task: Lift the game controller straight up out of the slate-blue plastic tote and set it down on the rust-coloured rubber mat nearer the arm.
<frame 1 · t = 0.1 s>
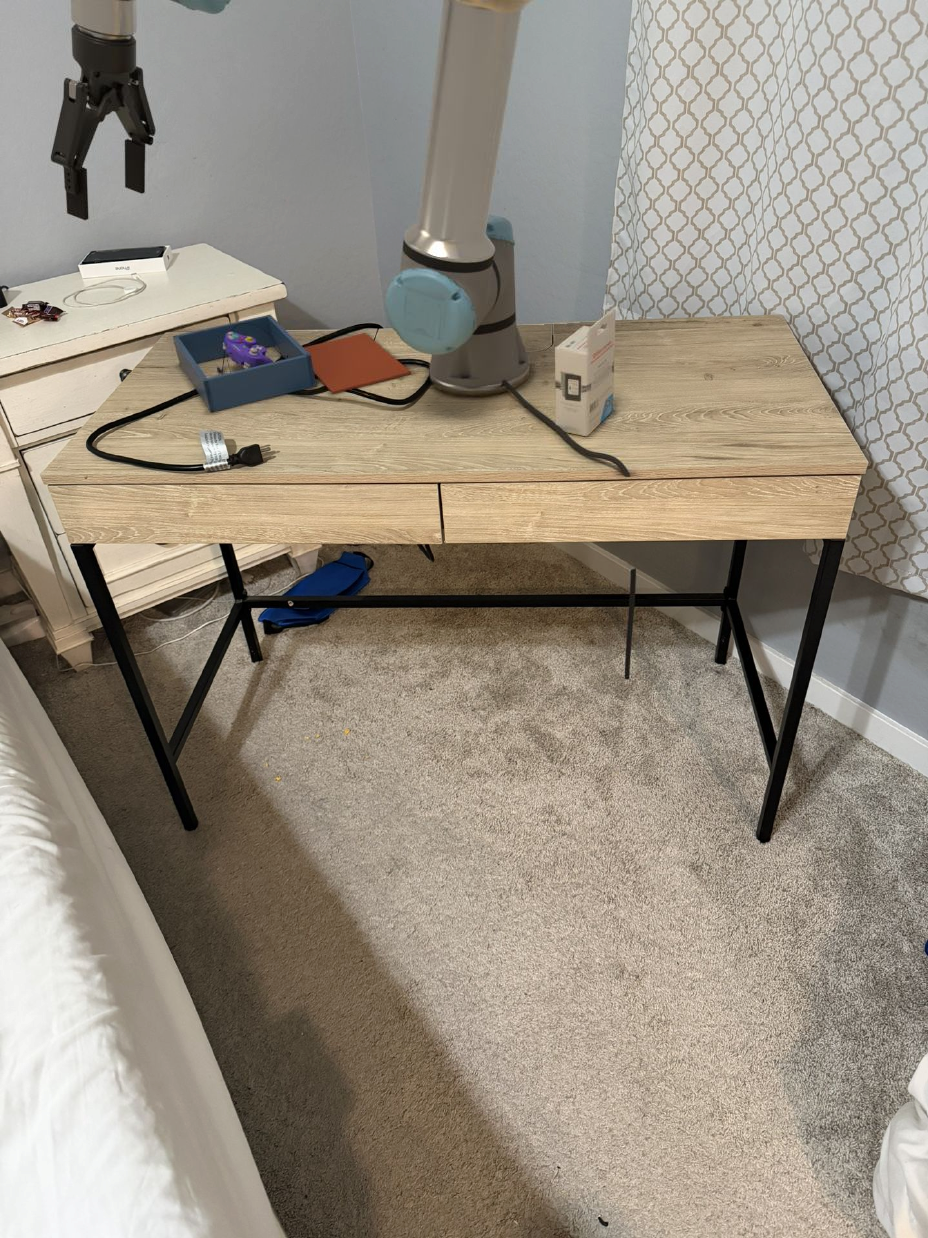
hand: (107, 202, 128), 28 cm above the table, tool tilted 20°, fingers open, 13 cm apart
game controller: (246, 376, 147), resting in tote
ink box: (584, 422, 126), on the table
tote: (245, 375, 147), on the table
mat: (349, 362, 148), on the table
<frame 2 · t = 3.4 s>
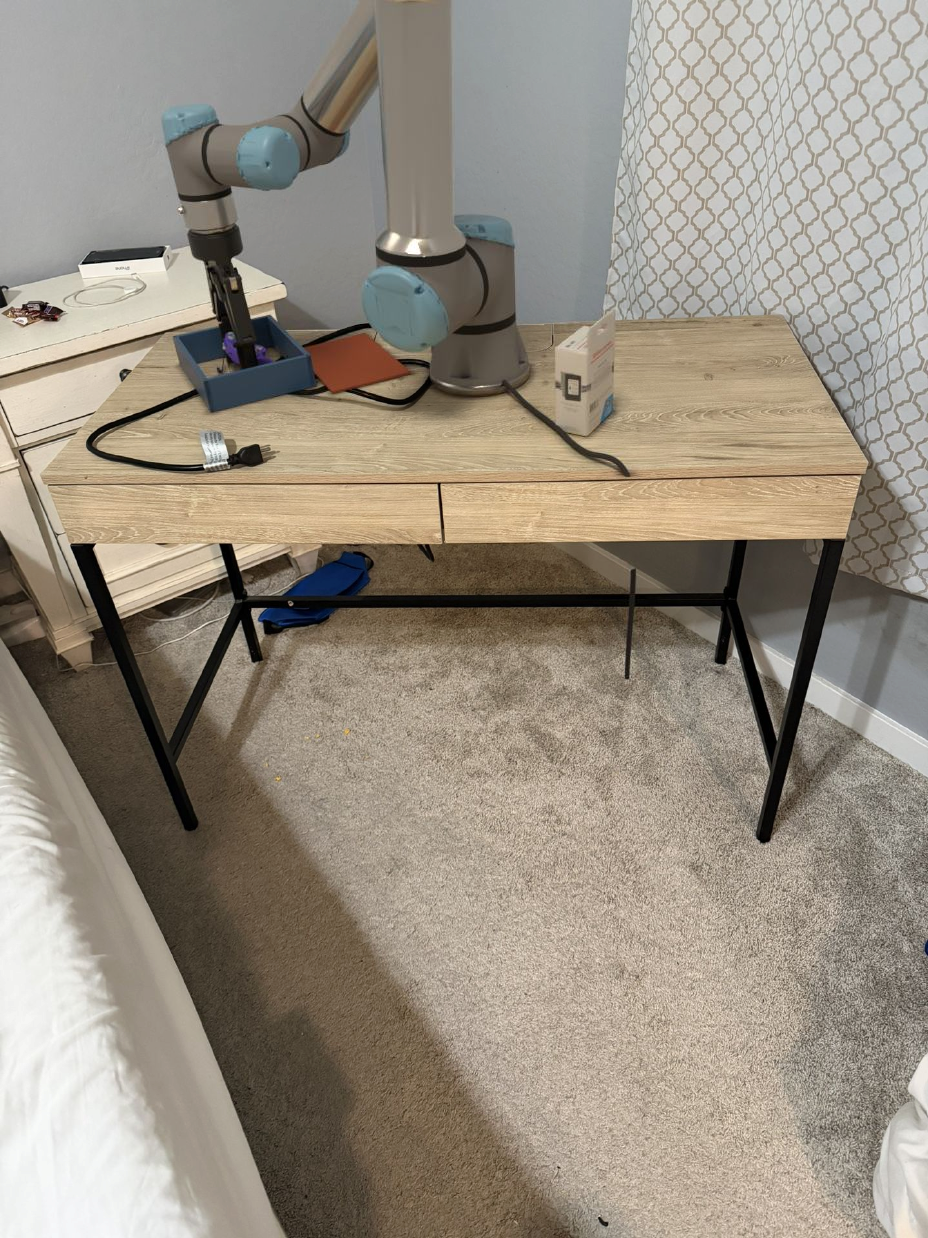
hand: (244, 372, 147), 0 cm above the table, tool pointing down, fingers closed on game controller, 10 cm apart
game controller: (245, 376, 147), resting in tote, touching gripper
everything else where it was.
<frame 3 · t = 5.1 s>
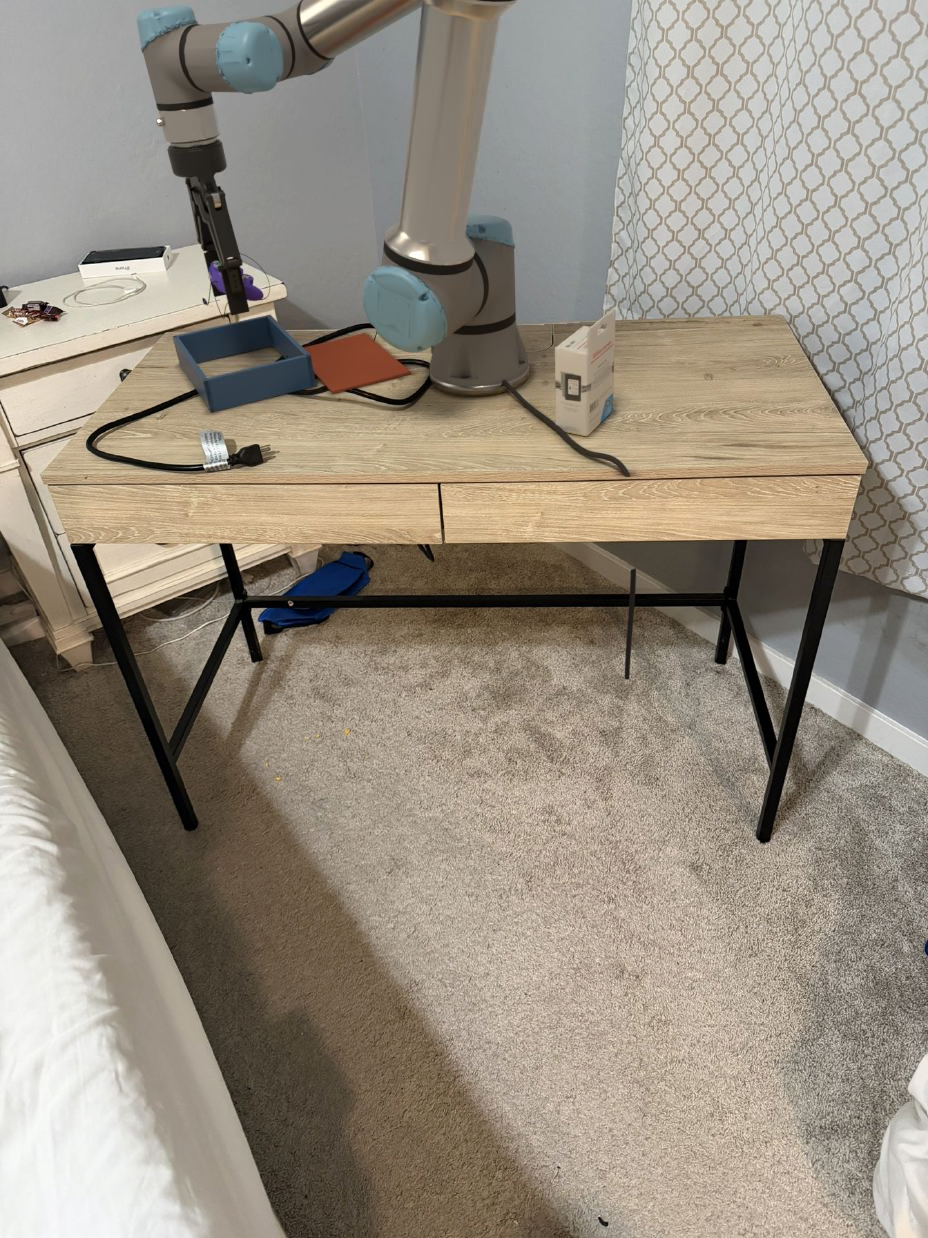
hand: (231, 303, 140), 12 cm above the table, tool pointing down, fingers closed on game controller, 10 cm apart
game controller: (233, 308, 140), point 11 cm above the table, touching gripper
everything else where it was.
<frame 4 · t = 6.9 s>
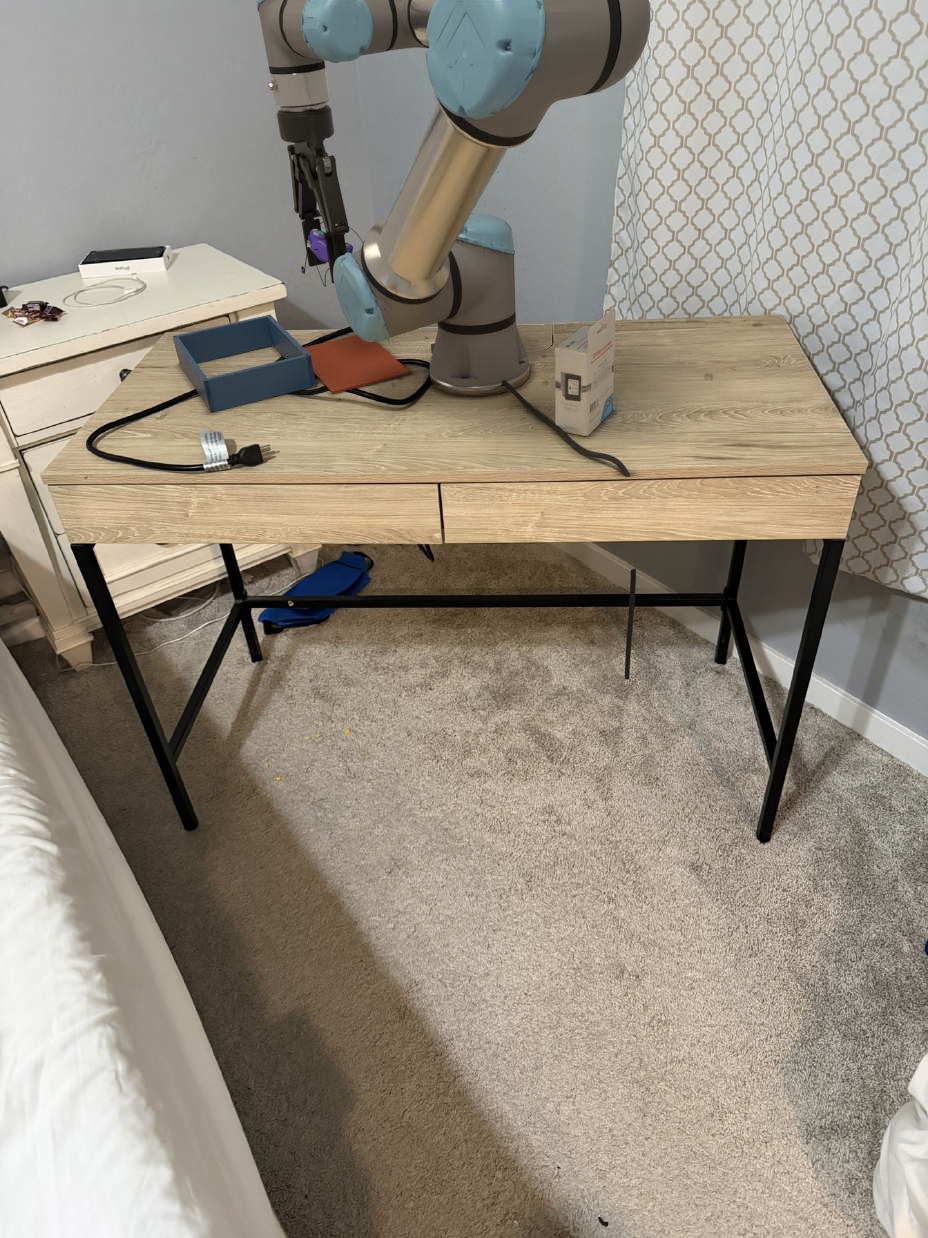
hand: (329, 272, 139), 15 cm above the table, tool pointing down, fingers closed on game controller, 10 cm apart
game controller: (331, 277, 139), point 14 cm above the table, touching gripper
everything else where it was.
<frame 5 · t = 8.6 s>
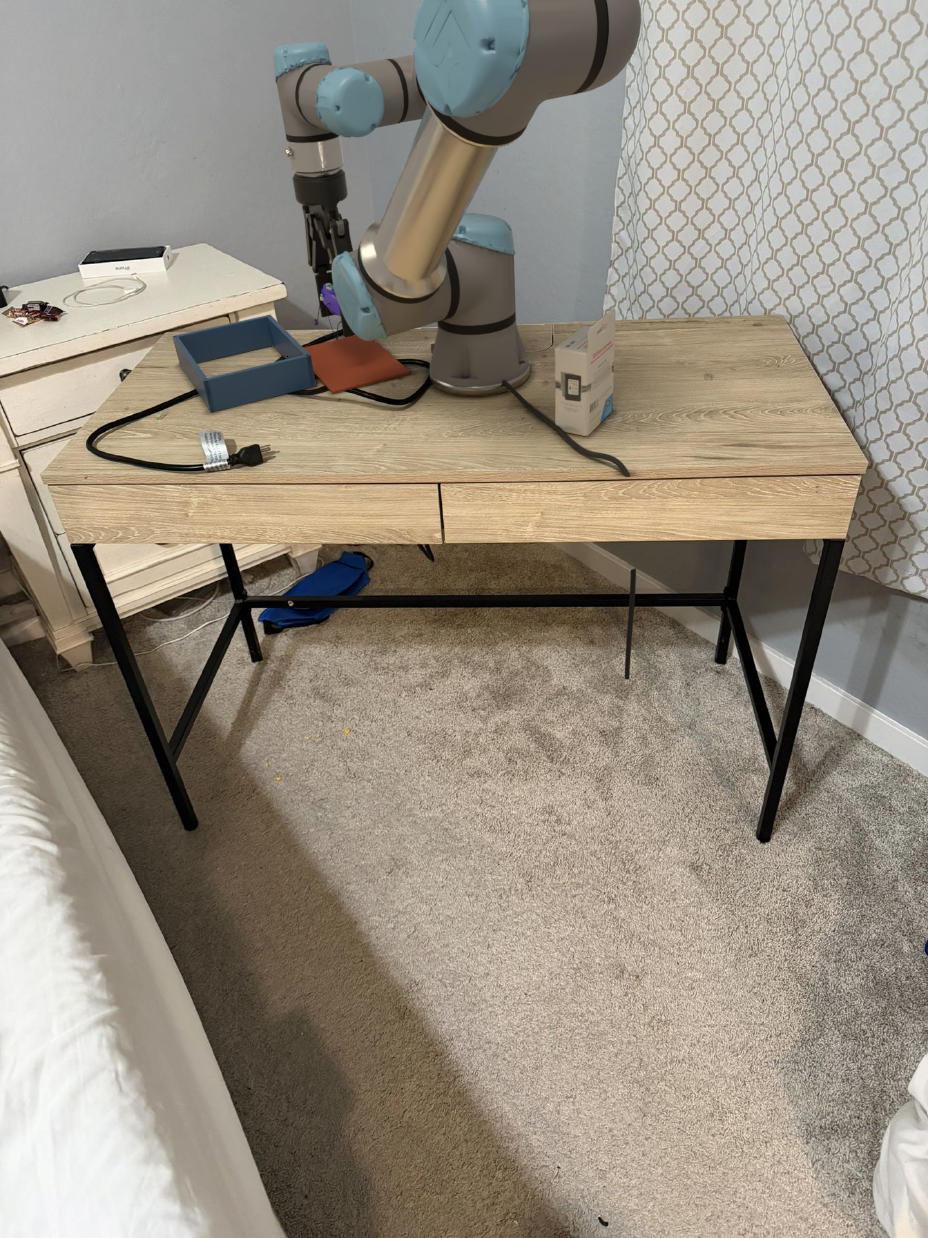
hand: (340, 324, 144), 6 cm above the table, tool pointing down, fingers closed on game controller, 10 cm apart
game controller: (342, 329, 144), point 6 cm above the table, touching gripper
everything else where it was.
when the fingers open (1 cm above the table, at t = 10.5 s): game controller stays where it is, resting on mat.
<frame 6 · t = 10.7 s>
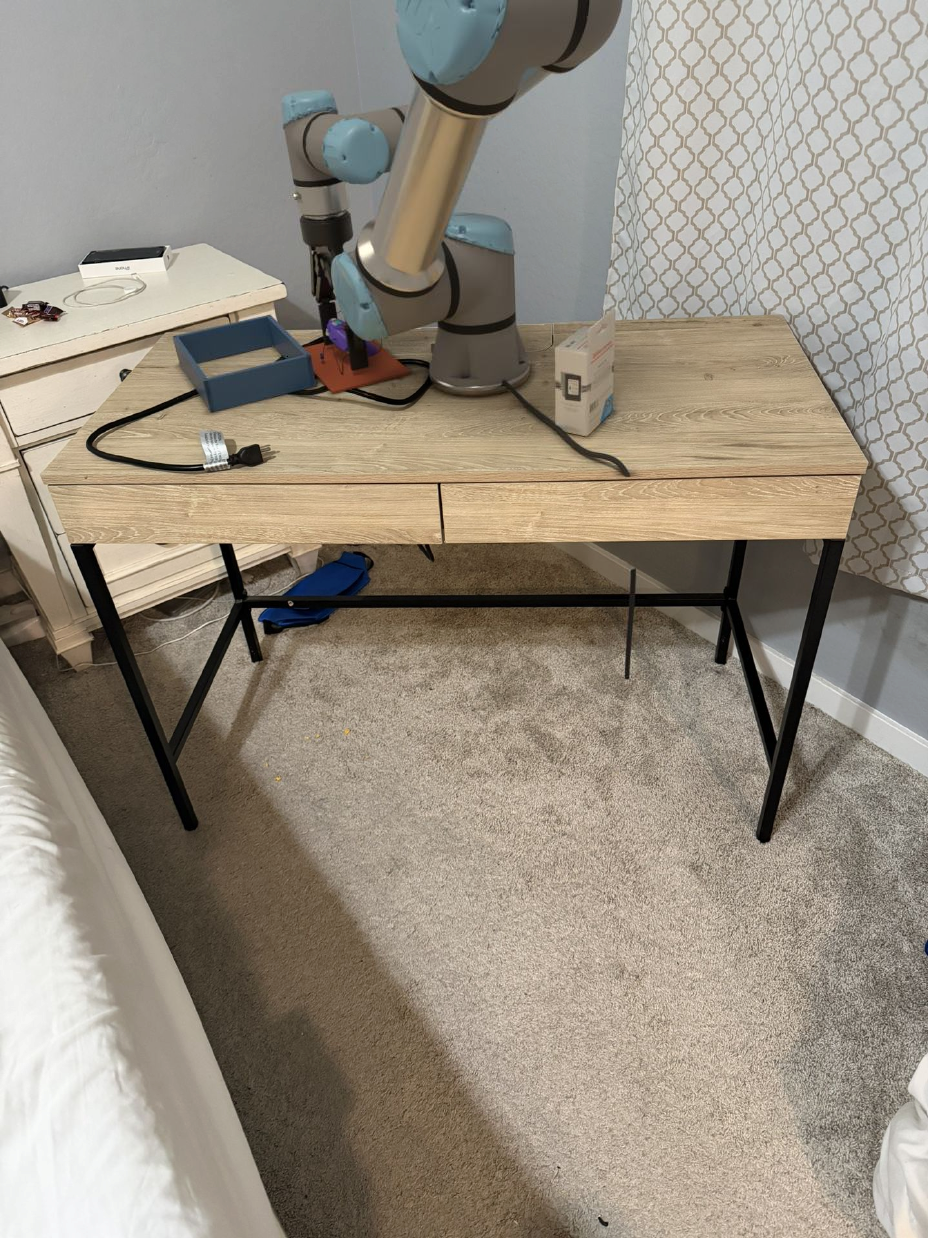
hand: (346, 355, 147), 1 cm above the table, tool pointing down, fingers open, 12 cm apart
game controller: (347, 362, 148), resting on mat
everything else where it was.
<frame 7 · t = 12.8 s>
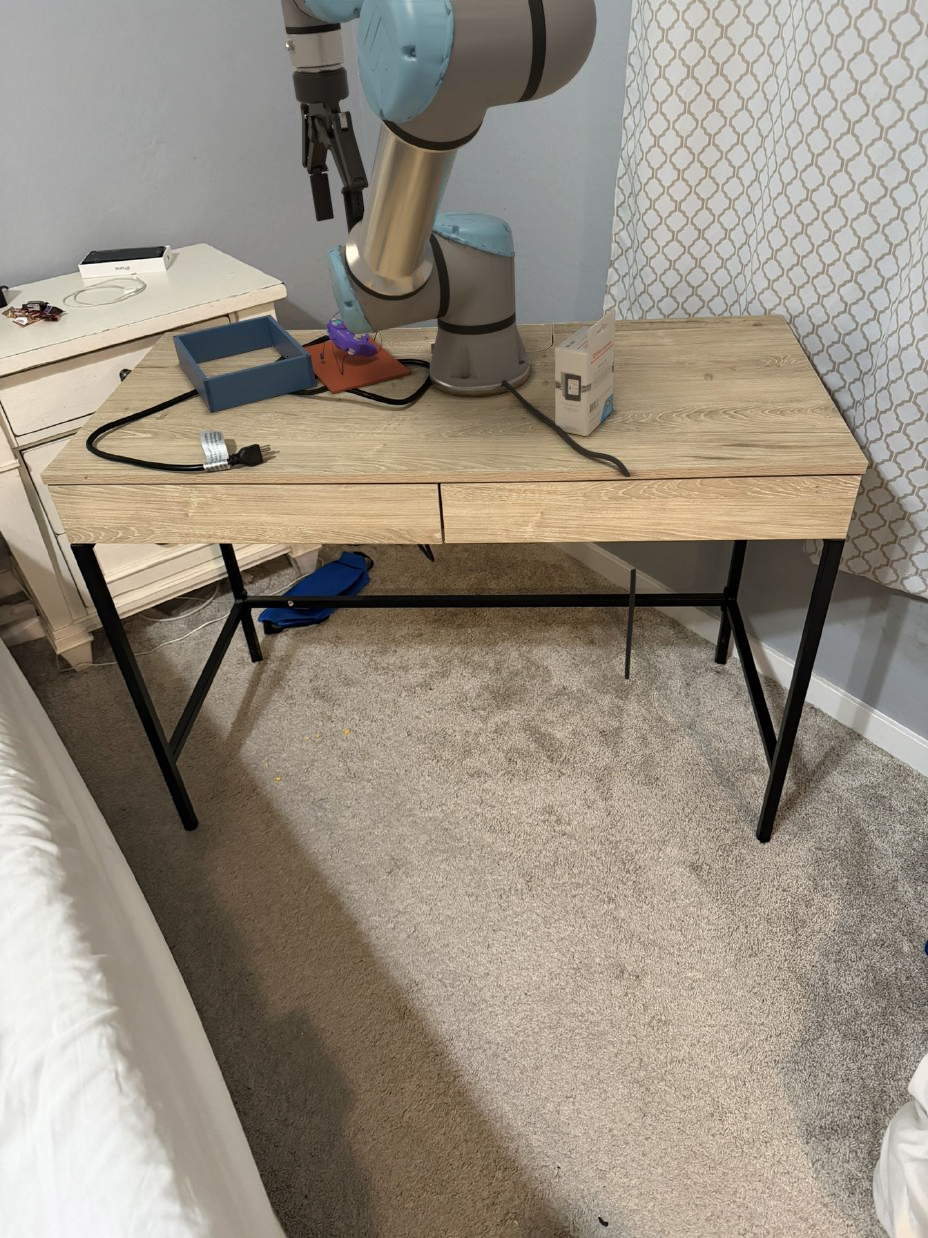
hand: (341, 228, 140), 19 cm above the table, tool pointing down, fingers open, 13 cm apart
nothing on the table moved.
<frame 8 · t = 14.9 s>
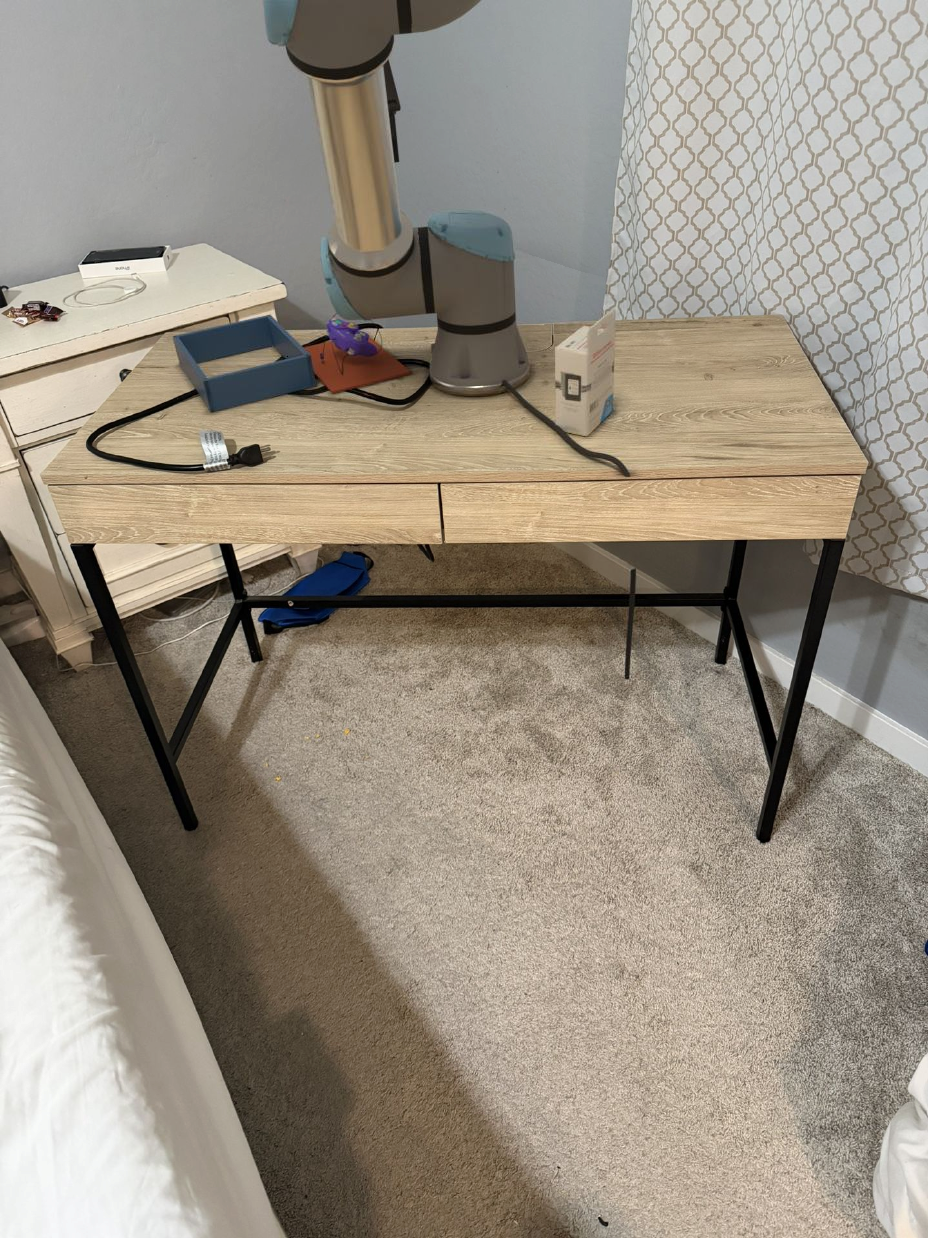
hand: (374, 155, 146), 27 cm above the table, tool pointing down, fingers open, 13 cm apart
nothing on the table moved.
at the end: game controller inside the target area on the mat (0.6 cm from its centre), point 0.2 cm above the mat's base; the gripper is holding nothing; game controller tilted 0° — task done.
